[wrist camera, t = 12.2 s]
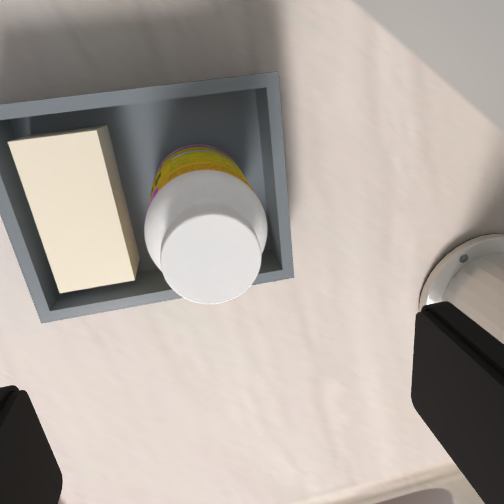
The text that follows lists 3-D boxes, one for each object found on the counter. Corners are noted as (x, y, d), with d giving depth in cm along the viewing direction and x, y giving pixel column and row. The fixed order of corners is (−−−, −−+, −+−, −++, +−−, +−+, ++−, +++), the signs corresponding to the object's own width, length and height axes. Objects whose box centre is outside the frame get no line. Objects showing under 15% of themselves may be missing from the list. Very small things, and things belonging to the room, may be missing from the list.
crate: (262, 74, 29) (278, 71, 24) (278, 252, 34) (294, 277, 30) (-3, 105, 27) (-40, 109, 22) (60, 290, 32) (41, 323, 28)
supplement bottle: (148, 144, 28) (128, 192, 16) (242, 140, 29) (285, 185, 17) (158, 233, 31) (146, 329, 19) (243, 227, 32) (281, 315, 20)
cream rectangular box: (107, 124, 27) (96, 130, 24) (139, 257, 31) (134, 280, 28) (30, 134, 27) (7, 142, 23) (73, 268, 31) (59, 293, 27)
